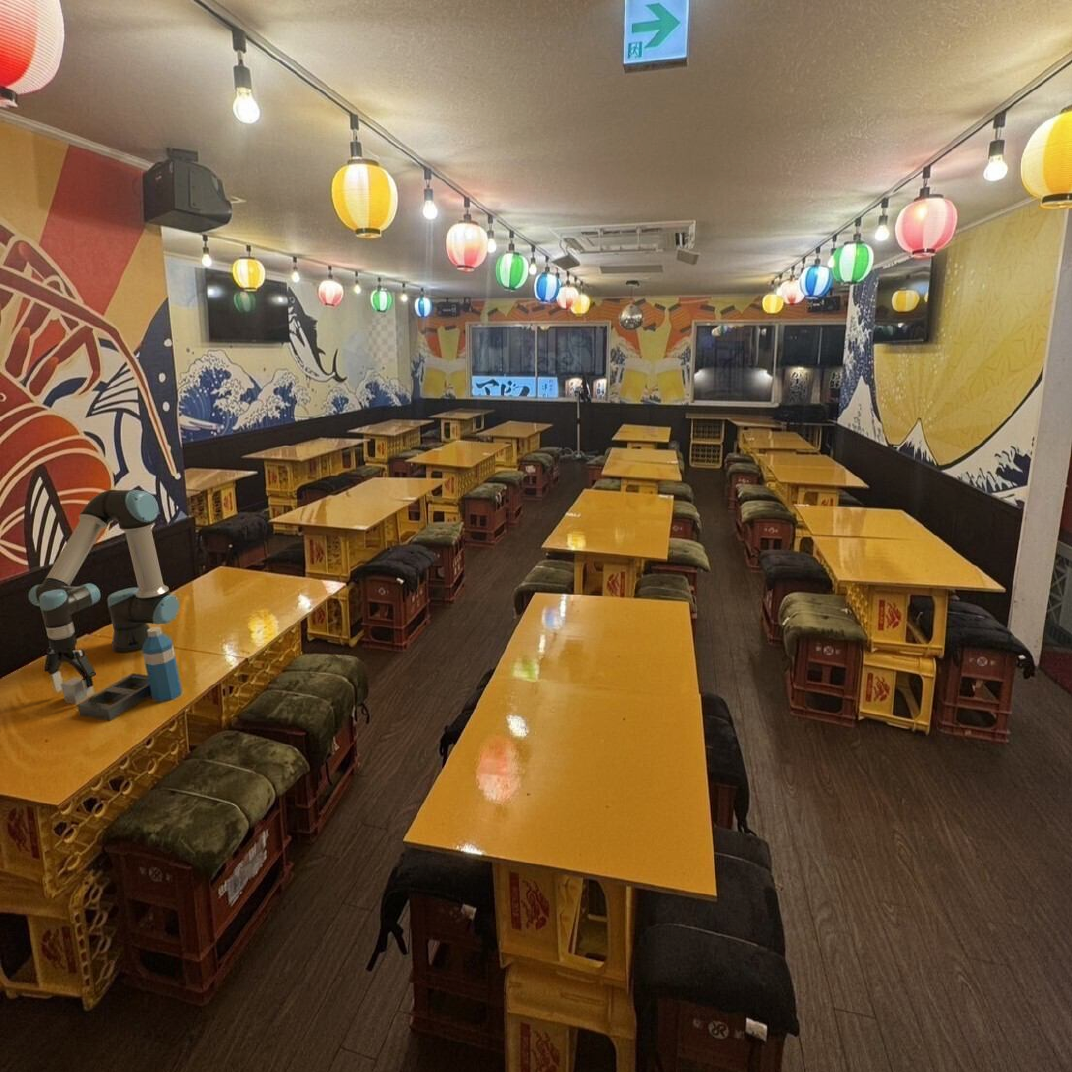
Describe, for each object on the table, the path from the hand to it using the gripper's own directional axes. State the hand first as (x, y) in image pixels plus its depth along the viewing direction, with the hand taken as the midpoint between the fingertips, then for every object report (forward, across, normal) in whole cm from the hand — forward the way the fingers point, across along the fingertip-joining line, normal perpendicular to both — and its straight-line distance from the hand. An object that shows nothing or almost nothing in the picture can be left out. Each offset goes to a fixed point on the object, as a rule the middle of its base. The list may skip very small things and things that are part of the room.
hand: (74, 692), depth 233 cm
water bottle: (+3, +29, +10) cm, 31 cm away
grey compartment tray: (+3, +17, +3) cm, 18 cm away
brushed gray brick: (+3, 0, 0) cm, 3 cm away
